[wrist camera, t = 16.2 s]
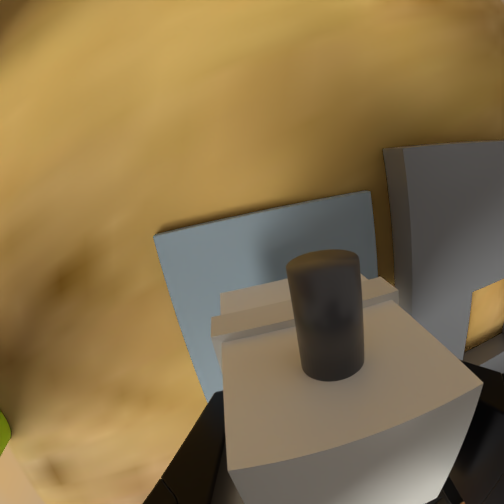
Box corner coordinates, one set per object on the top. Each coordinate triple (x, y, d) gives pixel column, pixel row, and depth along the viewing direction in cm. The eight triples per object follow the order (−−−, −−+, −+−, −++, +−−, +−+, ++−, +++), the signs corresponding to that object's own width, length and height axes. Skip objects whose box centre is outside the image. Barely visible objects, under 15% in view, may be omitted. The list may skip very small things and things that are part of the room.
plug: (347, 201, 10) (512, 266, 3) (360, 368, 11) (441, 497, 5) (198, 232, 9) (163, 366, 3) (243, 398, 11) (265, 555, 5)
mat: (365, 190, 12) (370, 191, 11) (375, 360, 14) (379, 365, 14) (155, 234, 11) (152, 236, 11) (209, 402, 14) (209, 408, 13)
